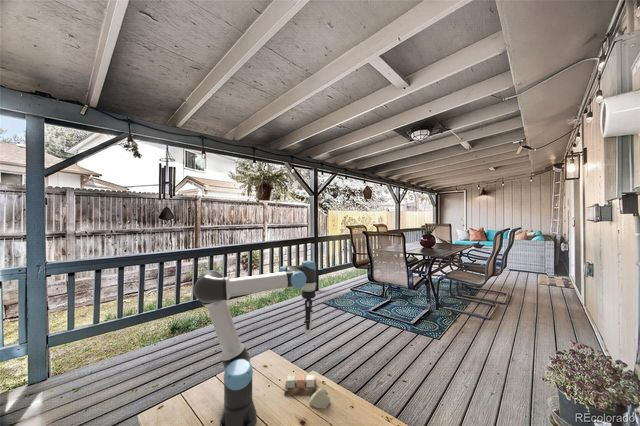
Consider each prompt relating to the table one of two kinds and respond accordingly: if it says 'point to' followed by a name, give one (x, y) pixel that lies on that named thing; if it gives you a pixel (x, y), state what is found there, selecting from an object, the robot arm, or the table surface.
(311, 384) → the button cream
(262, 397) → the table surface
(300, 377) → the button terracotta
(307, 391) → the walnut board
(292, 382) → the button sage
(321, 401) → the grey rounded lump
